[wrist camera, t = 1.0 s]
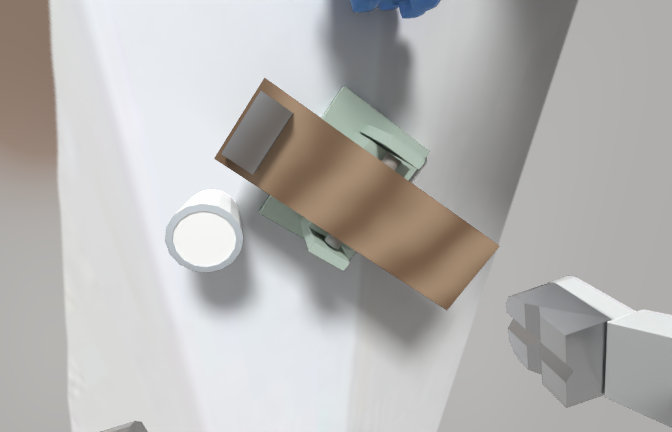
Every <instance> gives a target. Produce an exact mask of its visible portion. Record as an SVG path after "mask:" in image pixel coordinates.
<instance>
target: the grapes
mask: <svg viewBox="0 0 672 432" xmlns="http://www.w3.org/2000/svg"><path fill="white" fill-rule="evenodd" d="M439 2H440V0H350V3H351V6H352V9H353V12H368V11H372V10H374V9H375V8H377V7H378V5H379V8H380V10H392V9H396V8H398V7H399V9H400V13H401V16H402V18H416V17H418V16H420V15H423V14H424V13H425V11H427V10H430V9H432V8H434V7H436V6H437V5H438V3H439Z"/></svg>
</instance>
